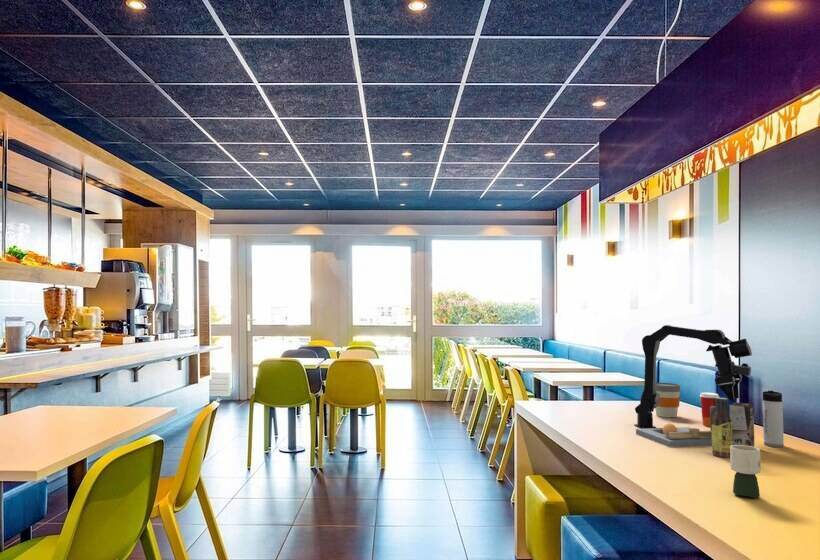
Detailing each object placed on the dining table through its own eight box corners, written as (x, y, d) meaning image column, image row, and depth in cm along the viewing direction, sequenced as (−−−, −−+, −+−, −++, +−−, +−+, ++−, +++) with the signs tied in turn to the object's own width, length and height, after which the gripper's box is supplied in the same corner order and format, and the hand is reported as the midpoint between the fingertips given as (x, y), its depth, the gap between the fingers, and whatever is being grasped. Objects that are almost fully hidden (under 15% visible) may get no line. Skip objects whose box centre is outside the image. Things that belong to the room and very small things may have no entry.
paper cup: (715, 424, 246) (714, 392, 246) (723, 427, 238) (722, 395, 239) (697, 423, 246) (696, 392, 247) (704, 427, 239) (703, 394, 240)
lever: (666, 436, 210) (665, 407, 210) (715, 434, 213) (714, 406, 214) (672, 439, 206) (671, 409, 207) (722, 437, 210) (721, 407, 210)
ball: (660, 435, 214) (659, 422, 214) (671, 435, 215) (671, 422, 215) (668, 438, 209) (668, 425, 210) (680, 438, 210) (679, 424, 210)
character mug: (769, 503, 145) (767, 453, 146) (739, 501, 146) (737, 451, 147) (752, 490, 156) (751, 443, 156) (725, 488, 157) (724, 442, 158)
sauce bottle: (725, 459, 188) (723, 400, 189) (707, 454, 194) (706, 397, 195) (737, 456, 191) (735, 398, 192) (719, 452, 197) (718, 396, 198)
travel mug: (781, 444, 209) (780, 391, 210) (785, 448, 203) (783, 393, 204) (762, 442, 212) (761, 389, 213) (765, 446, 206) (763, 392, 207)
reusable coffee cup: (679, 419, 255) (678, 386, 256) (650, 416, 262) (649, 384, 263) (682, 415, 266) (682, 383, 267) (654, 412, 273) (654, 381, 273)
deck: (636, 433, 226) (636, 428, 226) (688, 431, 230) (688, 427, 230) (669, 446, 204) (669, 441, 205) (726, 444, 209) (726, 439, 209)
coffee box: (749, 452, 198) (748, 406, 198) (729, 449, 202) (728, 404, 203) (755, 447, 204) (754, 403, 205) (735, 444, 209) (734, 401, 209)
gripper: (741, 358, 209) (754, 399, 206) (749, 355, 223) (762, 394, 220) (709, 363, 216) (721, 403, 213) (719, 360, 230) (731, 398, 227)
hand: (735, 399), depth 218 cm, fingers open, 9 cm apart
